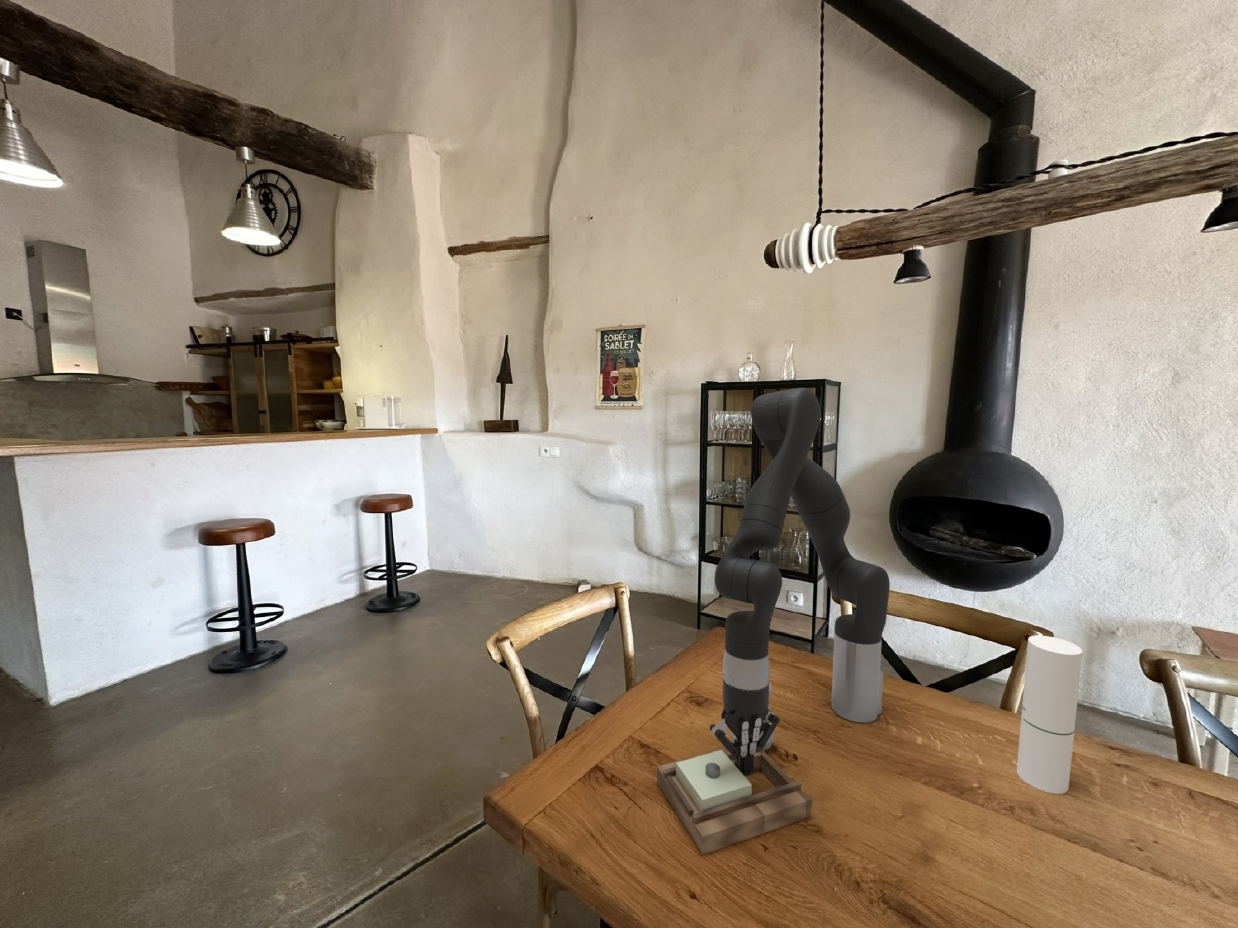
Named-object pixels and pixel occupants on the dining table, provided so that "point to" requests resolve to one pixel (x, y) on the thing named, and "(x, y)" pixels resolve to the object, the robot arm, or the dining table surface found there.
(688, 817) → the board
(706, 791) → the cover
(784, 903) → the dining table surface
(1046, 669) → the cylindrical container
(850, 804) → the dining table surface
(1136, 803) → the dining table surface
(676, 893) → the dining table surface
